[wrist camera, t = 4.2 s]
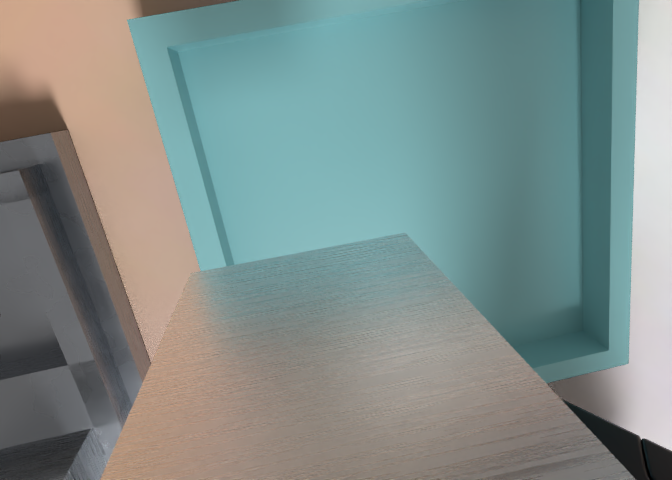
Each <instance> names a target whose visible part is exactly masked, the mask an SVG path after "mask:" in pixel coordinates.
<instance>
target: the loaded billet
mask: <svg viewBox="0 0 672 480" xmlns="http://www.w3.org/2000/svg"><path fill="white" fill-rule="evenodd" d="M106 465H107V463H106V461H105V459H104V456H103V454H102V451H101V449H100V447H99V444H98V442H97V440H96V437H95V435H94V433H93V430H92V428H90V429H86V430H81V431H77V432H73V433H68V434H64V435H60V436H55V437H51V438H46V439H42V440H38V441H33V442H29V443H25V444H20V445H16V446H12V447H7V448H3V449H0V480H100V479H101V476H102V474H103V472H104V470H105V467H106Z"/></svg>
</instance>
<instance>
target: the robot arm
mask: <svg viewBox="0 0 672 480" xmlns="http://www.w3.org/2000/svg"><path fill="white" fill-rule="evenodd" d="M561 400H562V399H561ZM562 401H563V402H564V403H565V404H566V405H567V406H568V407H569V408H570V409H571V410H572V412H573V413H574V414H575V415H576V416H577V417H578V418H579V419H580V420H581V421H582V422H583V423H584V424H585V425H586V427H587V428H588V429H589V430H590V431H591V432H592V433H593V434H594V435H595V436H596V437H597V438H598V439H599V440H600V442H601V443H602V444H603V445H604V446H605V447H606V448H607V449H608V450H609V451H610V452H611V453H612V454H613V455H614V457H615V458H616V459H617V460H618V461H619V462H620V463H621V464H622V465H623V466H624V467H625V468H626V469H627V470H628V471H629V473H630V474H631V475H632V476H633V477H634V478H635V479H636V480H672V451H670V450H668V449H666V448H664V447H662V446H660V445H658V444H656V443H654V442H651V441H649V440H647V439H642V440H641V439H640V437H639V436H638V435H636V434H634V433H632V432H630V431H628V430H626V429H624V428H621V427H619V426H617V425H615V424H613V423H611V422H609V421H607V420H605V419H602V418H600V417H598V416H596V415H594V414H592V413H590V412H588V411H586V410H583V409H581V408H579V407H577V406H575V405H573V404H571V403H569V402H567V401H564V400H562Z"/></svg>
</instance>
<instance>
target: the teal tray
mask: <svg viewBox="0 0 672 480" xmlns="http://www.w3.org/2000/svg"><path fill="white" fill-rule="evenodd" d="M638 10H639V0H239V1H233V2H227V3H221V4H216V5H210V6H204V7H198V8H193V9H187V10H181V11H175V12H169V13H164V14H158V15H152V16H146V17H141V18H135V19H129V20H127V21H128V25H129V28H130V32H131V35H132V38H133V42H134V45H135V49H136V52H137V55H138V59H139V62H140V66H141V69H142V72H143V76H144V79H145V83H146V86H147V90H148V93H149V96H150V100H151V103H152V107H153V110H154V113H155V117H156V120H157V124H158V127H159V130H160V134H161V137H162V141H163V144H164V148H165V151H166V154H167V158H168V161H169V165H170V168H171V171H172V175H173V178H174V182H175V185H176V188H177V192H178V195H179V199H180V202H181V206H182V209H183V212H184V216H185V219H186V223H187V226H188V229H189V233H190V236H191V240H192V243H193V247H194V250H195V253H196V257H197V260H198V264H199V267H200V270H201V271H205V270H210V269H216V268H221V267H226V266H231V265H237V264H242V263H247V262H253V261H258V260H263V259H268V258H274V257H279V256H284V255H289V254H295V253H300V252H305V251H311V250H316V249H321V248H326V247H332V246H337V245H342V244H347V243H353V242H358V241H363V240H369V239H374V238H379V237H384V236H390V235H395V234H400V233H406V234H407V235H408V236H409V237H410V238H411V239H412V240H413V241H414V242H415V244H416V245H417V246H418V247H419V248H420V249H421V250H422V251H423V252H424V253H425V254H426V255H427V256H428V257H429V259H430V260H431V261H432V262H433V263H434V264H435V265H436V266H437V267H438V268H439V269H440V270H441V271H442V272H443V273H444V275H445V276H446V277H447V278H448V279H449V280H450V281H451V282H452V283H453V284H454V285H455V286H456V287H457V288H458V290H459V291H460V292H461V293H462V294H463V295H464V296H465V297H466V298H467V299H468V300H469V301H470V302H471V303H472V305H473V306H474V307H475V308H476V309H477V310H478V311H479V312H480V313H481V314H482V315H483V316H484V317H485V318H486V320H487V321H488V322H489V323H490V324H491V325H492V326H493V327H494V328H495V329H496V330H497V331H498V332H499V333H500V335H501V336H502V337H503V338H504V339H505V340H506V341H507V342H508V343H509V344H510V345H511V346H512V347H513V348H514V349H515V351H516V352H517V353H518V354H519V355H520V356H521V357H522V358H523V359H524V360H525V361H526V362H527V363H528V364H529V366H530V367H531V368H532V369H533V370H534V371H535V372H536V373H537V374H538V375H539V376H540V377H541V378H542V379H543V381H544V382H545V383H550V382H554V381H558V380H562V379H566V378H571V377H575V376H579V375H583V374H587V373H592V372H596V371H600V370H604V369H608V368H613V367H617V366H621V365H625V364H628V362H629V327H630V292H631V256H632V221H633V186H634V151H635V115H636V80H637V45H638Z"/></svg>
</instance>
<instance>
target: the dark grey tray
mask: <svg viewBox="0 0 672 480" xmlns="http://www.w3.org/2000/svg"><path fill="white" fill-rule="evenodd" d="M150 365H151V363H150V360H149V357H148V354H147V351H146V349H145V346H144V343H143V340H142V337H141V335H140V332H139V329H138V326H137V323H136V320H135V318H134V315H133V312H132V309H131V306H130V304H129V301H128V298H127V295H126V292H125V289H124V287H123V284H122V281H121V278H120V275H119V273H118V270H117V267H116V264H115V261H114V258H113V256H112V253H111V250H110V247H109V244H108V242H107V239H106V236H105V233H104V230H103V227H102V225H101V222H100V219H99V216H98V213H97V211H96V208H95V205H94V202H93V199H92V196H91V194H90V191H89V188H88V185H87V182H86V180H85V177H84V174H83V171H82V168H81V165H80V163H79V160H78V157H77V154H76V151H75V149H74V146H73V143H72V140H71V137H70V134H69V132H68V130H64V131H58V132H52V133H47V134H42V135H36V136H31V137H26V138H20V139H15V140H10V141H4V142H0V449H3V448H7V447H12V446H16V445H20V444H25V443H29V442H33V441H38V440H42V439H46V438H51V437H55V436H60V435H64V434H68V433H73V432H77V431H81V430H86V429H90V428H92V430H93V433H94V435H95V437H96V440H97V442H98V444H99V447H100V449H101V451H102V454H103V456H104V459H105V461H106V463H108V460H109V458H110V456H111V454H112V451H113V449H114V447H115V445H116V442H117V440H118V438H119V436H120V433H121V431H122V429H123V426H124V424H125V422H126V420H127V417H128V415H129V413H130V411H131V408H132V406H133V404H134V401H135V399H136V397H137V395H138V392H139V390H140V388H141V386H142V383H143V381H144V379H145V377H146V374H147V372H148V370H149V367H150Z"/></svg>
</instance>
